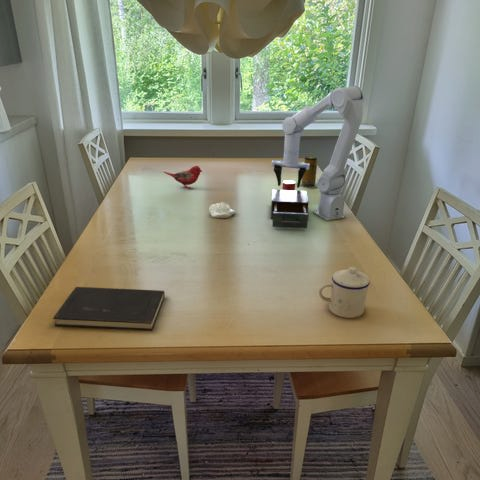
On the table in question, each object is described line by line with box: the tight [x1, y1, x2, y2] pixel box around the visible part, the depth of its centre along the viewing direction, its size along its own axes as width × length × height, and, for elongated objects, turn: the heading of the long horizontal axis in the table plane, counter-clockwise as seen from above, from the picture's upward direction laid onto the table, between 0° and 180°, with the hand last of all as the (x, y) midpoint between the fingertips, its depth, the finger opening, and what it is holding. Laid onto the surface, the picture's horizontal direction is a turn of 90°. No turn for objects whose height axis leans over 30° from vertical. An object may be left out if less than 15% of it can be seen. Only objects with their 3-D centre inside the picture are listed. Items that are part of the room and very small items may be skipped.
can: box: [281, 179, 296, 190], centre depth 191 cm, size 5×5×8 cm
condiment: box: [300, 155, 318, 189], centre depth 211 cm, size 7×8×12 cm
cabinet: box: [270, 189, 309, 220], centre depth 180 cm, size 14×13×7 cm
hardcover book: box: [52, 286, 166, 332], centre depth 118 cm, size 16×23×2 cm
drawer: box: [272, 203, 309, 229], centre depth 170 cm, size 17×12×5 cm
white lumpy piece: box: [208, 201, 236, 219], centre depth 178 cm, size 10×4×10 cm
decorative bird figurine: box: [163, 165, 203, 190], centre depth 204 cm, size 3×18×10 cm, turn 75°
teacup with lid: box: [318, 266, 371, 319], centre depth 119 cm, size 12×9×12 cm
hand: (288, 186), depth 190 cm, fingers open, 7 cm apart
